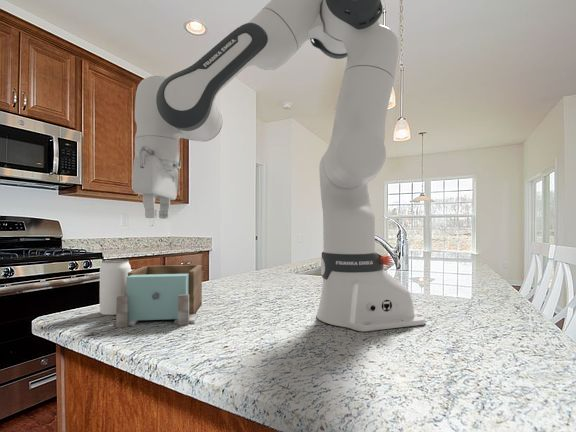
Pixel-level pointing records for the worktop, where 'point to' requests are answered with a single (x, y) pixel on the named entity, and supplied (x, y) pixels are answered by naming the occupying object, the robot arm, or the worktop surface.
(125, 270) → the can
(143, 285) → the door
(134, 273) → the cabinet
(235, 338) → the worktop surface
